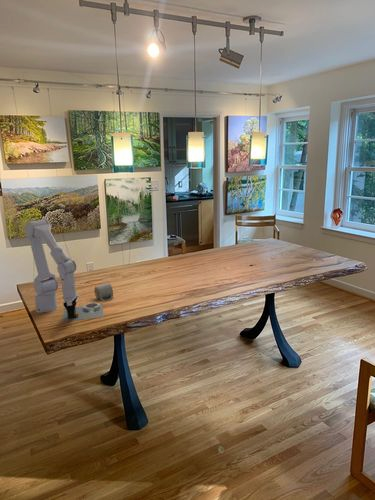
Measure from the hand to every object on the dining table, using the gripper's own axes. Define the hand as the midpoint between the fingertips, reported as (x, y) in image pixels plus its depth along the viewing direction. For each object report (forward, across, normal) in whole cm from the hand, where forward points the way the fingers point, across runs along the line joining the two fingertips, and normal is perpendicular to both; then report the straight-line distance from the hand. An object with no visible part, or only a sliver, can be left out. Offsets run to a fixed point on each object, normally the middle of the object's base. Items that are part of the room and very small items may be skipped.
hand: (71, 314), depth 173 cm
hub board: (+2, +4, -5) cm, 7 cm away
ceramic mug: (+2, +21, -16) cm, 27 cm away
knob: (+1, 0, 0) cm, 1 cm away
